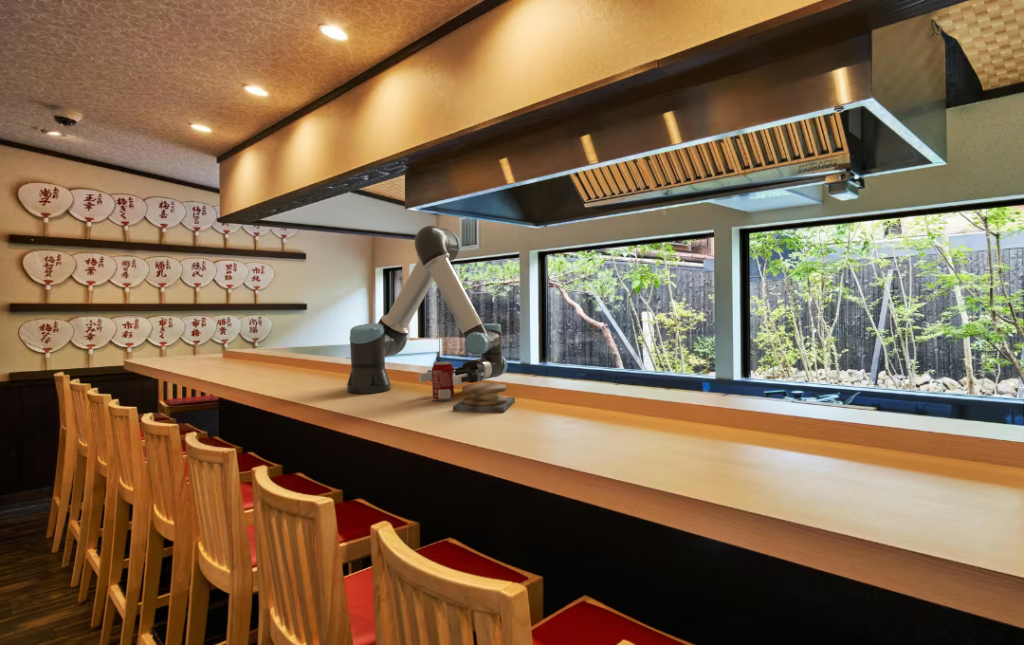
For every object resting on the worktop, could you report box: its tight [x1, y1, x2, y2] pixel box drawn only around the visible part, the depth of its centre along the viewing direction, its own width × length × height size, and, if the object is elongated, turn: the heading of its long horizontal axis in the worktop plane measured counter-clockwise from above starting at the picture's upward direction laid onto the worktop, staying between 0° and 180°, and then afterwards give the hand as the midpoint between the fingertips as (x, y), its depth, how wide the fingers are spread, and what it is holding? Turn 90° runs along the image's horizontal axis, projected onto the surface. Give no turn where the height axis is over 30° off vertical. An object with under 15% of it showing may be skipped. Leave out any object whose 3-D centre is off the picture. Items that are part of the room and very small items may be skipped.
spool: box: [452, 382, 516, 414], centre depth 167 cm, size 15×15×6 cm
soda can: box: [431, 360, 455, 402], centre depth 179 cm, size 7×7×12 cm
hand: (436, 379), depth 176 cm, fingers open, 13 cm apart
